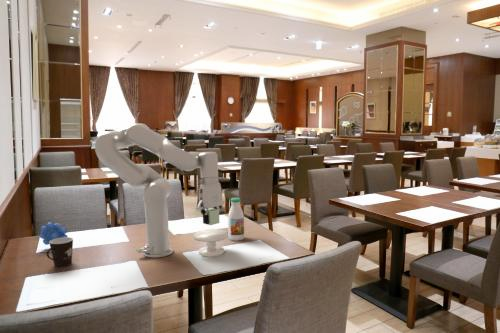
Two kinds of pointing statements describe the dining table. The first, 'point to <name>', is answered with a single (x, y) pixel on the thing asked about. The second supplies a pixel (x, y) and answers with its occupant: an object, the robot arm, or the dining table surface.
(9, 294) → the dining table surface
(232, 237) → the milk bottle
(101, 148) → the robot arm
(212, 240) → the cake stand
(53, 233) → the grapes
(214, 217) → the block
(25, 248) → the dining table surface
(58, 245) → the coffee mug
